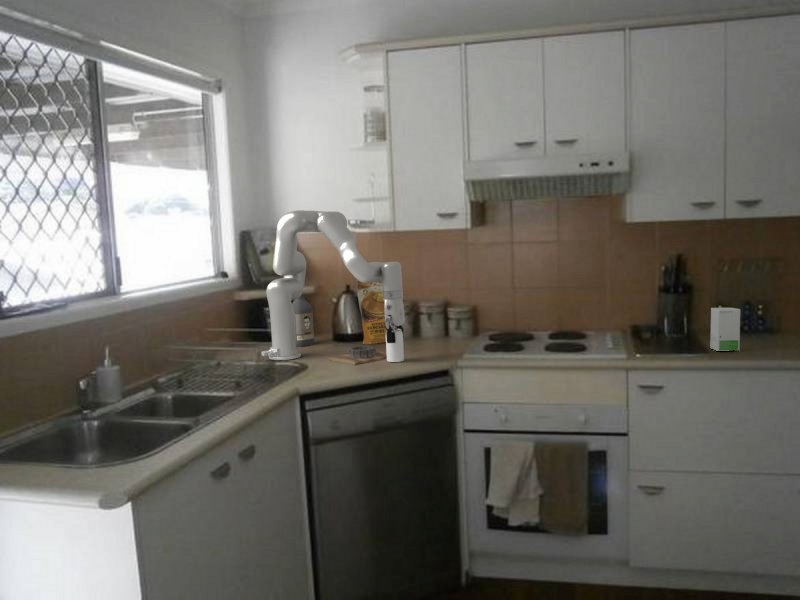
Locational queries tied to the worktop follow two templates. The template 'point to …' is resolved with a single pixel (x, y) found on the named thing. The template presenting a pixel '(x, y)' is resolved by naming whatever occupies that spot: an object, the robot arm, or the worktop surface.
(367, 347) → the socket
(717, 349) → the skincare box
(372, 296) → the pancake mix bag
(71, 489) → the worktop surface
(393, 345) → the can
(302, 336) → the liquor
